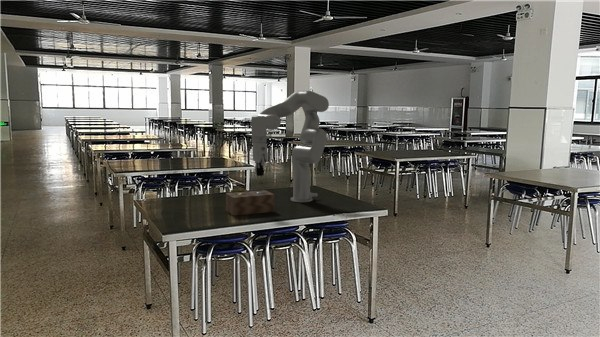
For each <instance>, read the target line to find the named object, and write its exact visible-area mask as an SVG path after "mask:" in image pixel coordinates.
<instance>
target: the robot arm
mask: <svg viewBox="0 0 600 337" xmlns="http://www.w3.org/2000/svg"><path fill="white" fill-rule="evenodd" d="M329 106H330V103H329V100H328V99H327V97H326V96H324V95H322V94H319V93H317V92H314V91H312V90H297V91H294V92H293V93H291V94H290V95H289V96H288V97H286V98H285V99H284V100H282V101H281V102H279V103H277V104H273V105H271V106H269V107H268V108H267V107H266V108H264V109H263V110H261V111H260V113H259V114H257V115H253V116H251V120H250V121H251V143H252V160H253V161H254V163H255V167H256V169H255V170H256V176H258V177H261V176H264V166H265V164H266V163H268V161H269V158H268V156H269V154H268V146H267V142H268V141H267V138H268V137H267V136H268V135H267V130H276V129H278V128H279V127H280V126H281V124H282V121H281V119H282V118H286V117H290V116H292V115H293V114H294V113H295V112H296V111H298V110H299V109H300V108H302V110H303V113H304V119H305V120H304V122H303V125H302V129H301V131H300V132H301V133H300V136H299V140H300V143H302V144H304V145H300V144H299V145H296V146H294V148H292V151H291V158H292V164H293V165H292V166H293V175H292V176H293V179H292V181H293V182H292V183H293V187H292V188H293V189H292V190H293V191H292V192H293V193H292V195H293V196H292V197H290V202H294V203H309V202H311V203H312V202H313V197H314V198H315V197H318V195H319V194H318V192H315V193H314V192H311V167H310V164H312V165H313V164H318V163H319V162H320V161H321V159H322V156H323V154H324V150H325V147H326V144H327V141H328V140H327V137H328V136H327V132H326V131H325V130H324V129H322V128H319V126H320V123H321V122H320V117H319V115H318V113H323V112H326V111H327V110H328V109H329Z"/></svg>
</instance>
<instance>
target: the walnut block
mask: <svg viewBox="0 0 600 337" xmlns="http://www.w3.org/2000/svg"><path fill="white" fill-rule="evenodd" d="M255 192H263V194H255ZM238 193H244V194H245V195H241V196H237V194H238ZM225 211H226V212H227V213H229V214H230V215H232V216H242V215H254V214H262V213H265V214H266V213H274V212H275V193H272V192H270V191H268V190H264V189H263V190H253V191H248V192H236V193H230V192H226V193H225Z"/></svg>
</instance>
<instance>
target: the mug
mask: <svg viewBox="0 0 600 337" xmlns="http://www.w3.org/2000/svg"><path fill="white" fill-rule="evenodd" d="M236 192H249V191H248V189H245V188H243V189H241V188H240V189H231V190H230V191H229V193H236Z"/></svg>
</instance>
